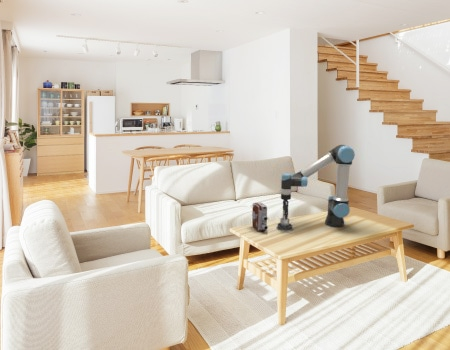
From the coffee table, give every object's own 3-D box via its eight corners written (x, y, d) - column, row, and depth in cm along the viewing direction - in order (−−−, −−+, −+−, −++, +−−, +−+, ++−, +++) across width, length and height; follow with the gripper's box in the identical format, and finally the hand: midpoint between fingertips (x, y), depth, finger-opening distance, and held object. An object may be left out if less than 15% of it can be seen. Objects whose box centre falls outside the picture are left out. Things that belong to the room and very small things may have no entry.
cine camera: (259, 234, 291) (259, 208, 287) (250, 226, 309) (250, 201, 306) (270, 233, 293) (271, 207, 290) (261, 225, 312) (262, 201, 308)
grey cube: (288, 226, 308) (288, 217, 307) (289, 229, 301) (290, 220, 300) (279, 226, 308) (279, 217, 307) (280, 229, 301) (281, 219, 300)
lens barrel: (292, 226, 311) (292, 222, 310) (294, 231, 298) (294, 227, 298) (275, 225, 312) (275, 222, 311) (276, 230, 299) (277, 227, 298)
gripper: (279, 190, 313) (279, 216, 316) (282, 197, 288) (281, 225, 292) (289, 190, 312) (288, 216, 316) (292, 197, 288) (291, 225, 291)
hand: (285, 220), depth 304 cm, fingers open, 13 cm apart
